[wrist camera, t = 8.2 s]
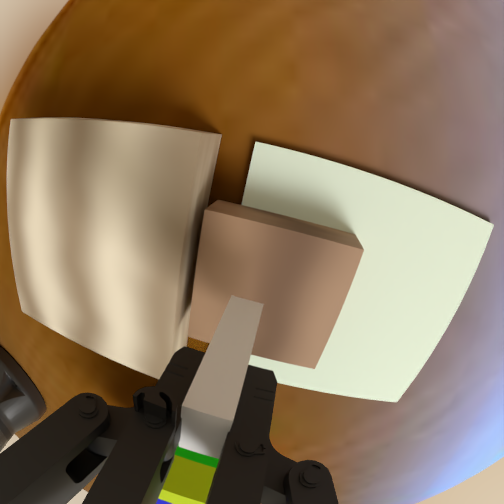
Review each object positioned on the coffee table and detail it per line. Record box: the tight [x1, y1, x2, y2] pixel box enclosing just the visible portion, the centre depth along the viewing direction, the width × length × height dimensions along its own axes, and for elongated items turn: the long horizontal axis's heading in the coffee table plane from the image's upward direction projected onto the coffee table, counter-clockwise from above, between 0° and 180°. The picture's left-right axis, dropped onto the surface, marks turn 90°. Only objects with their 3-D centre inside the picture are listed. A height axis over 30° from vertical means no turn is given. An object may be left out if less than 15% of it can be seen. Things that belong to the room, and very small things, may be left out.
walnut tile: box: [188, 200, 364, 369], centre depth 17 cm, size 8×8×2 cm
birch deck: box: [7, 117, 222, 379], centre depth 17 cm, size 15×16×4 cm
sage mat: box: [241, 142, 494, 402], centre depth 18 cm, size 16×16×1 cm
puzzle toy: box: [156, 444, 219, 504], centre depth 21 cm, size 10×10×10 cm
